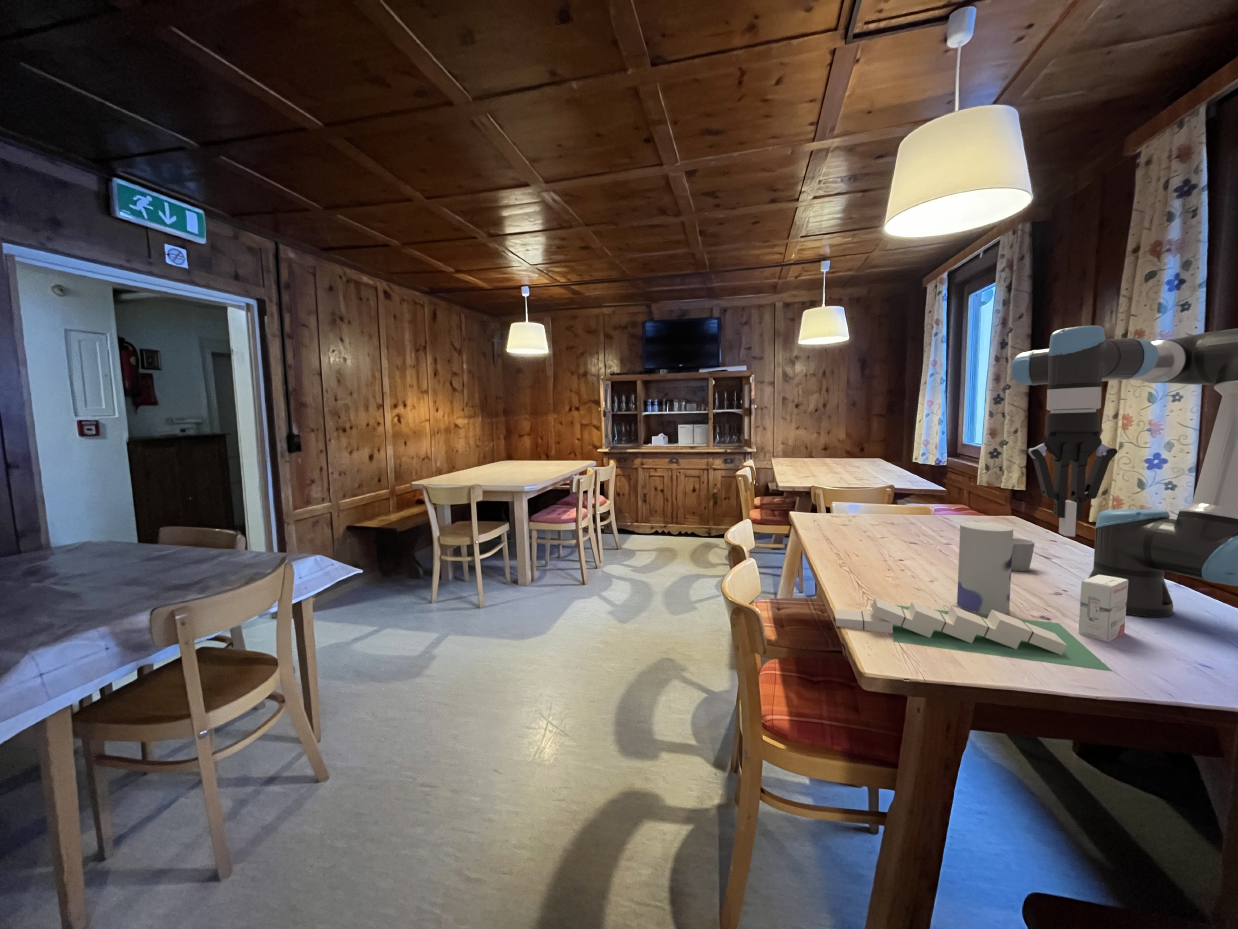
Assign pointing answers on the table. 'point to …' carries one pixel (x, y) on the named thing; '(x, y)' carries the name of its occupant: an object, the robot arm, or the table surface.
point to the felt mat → (1071, 656)
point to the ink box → (1103, 607)
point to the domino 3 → (938, 622)
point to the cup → (1022, 554)
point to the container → (985, 567)
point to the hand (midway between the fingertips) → (1066, 534)
